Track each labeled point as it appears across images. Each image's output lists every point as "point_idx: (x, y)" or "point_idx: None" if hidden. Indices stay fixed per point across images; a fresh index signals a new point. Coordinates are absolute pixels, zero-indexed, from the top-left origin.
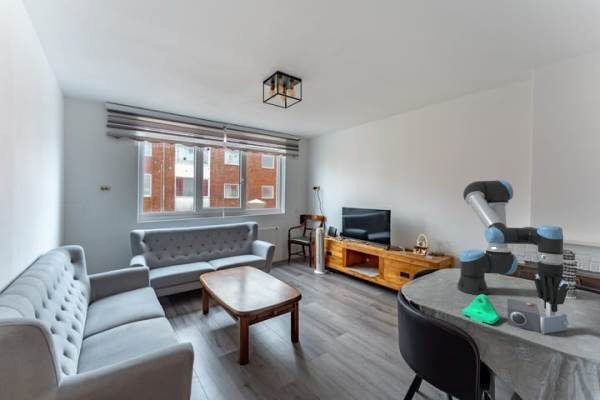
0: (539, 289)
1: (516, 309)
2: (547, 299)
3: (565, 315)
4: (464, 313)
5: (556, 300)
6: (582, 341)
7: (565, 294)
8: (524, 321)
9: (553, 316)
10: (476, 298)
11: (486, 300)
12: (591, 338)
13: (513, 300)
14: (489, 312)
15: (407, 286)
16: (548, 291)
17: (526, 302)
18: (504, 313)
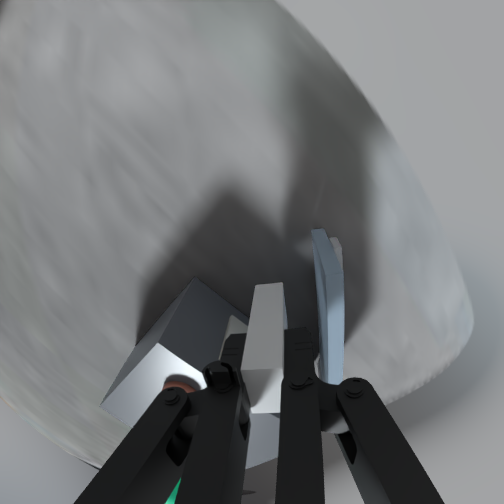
0: (167, 499)
1: (247, 467)
2: (242, 421)
3: (343, 284)
4: None
5: (346, 449)
6: (414, 255)
7: (426, 489)
8: None
9: (339, 376)
10: None
11: (176, 492)
12: (404, 175)
13: (121, 407)
14: None
15: (23, 419)
16: (234, 500)
17: (138, 377)
18: (128, 351)
